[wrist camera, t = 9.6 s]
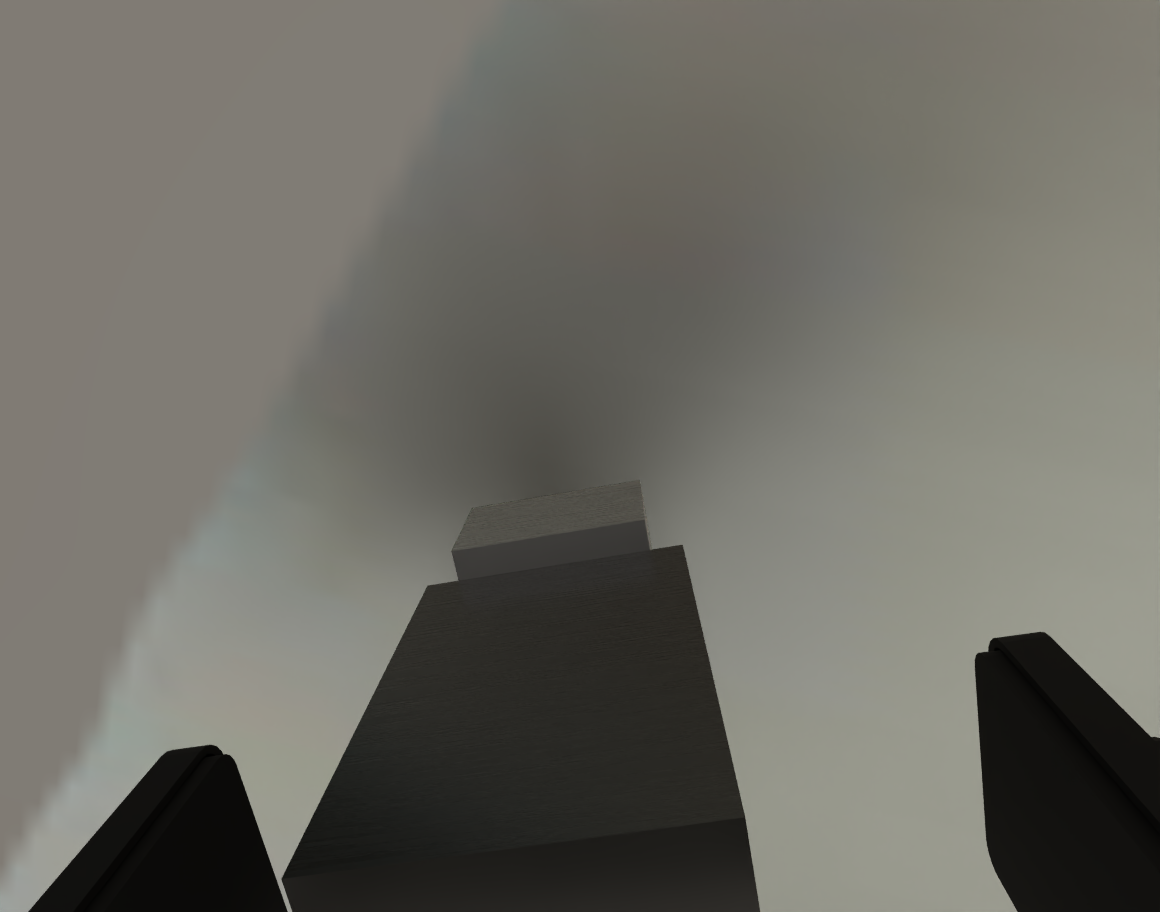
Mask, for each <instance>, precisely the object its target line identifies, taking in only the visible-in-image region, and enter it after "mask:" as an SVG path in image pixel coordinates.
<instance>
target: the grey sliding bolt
mask: <svg viewBox="0 0 1160 912" xmlns="http://www.w3.org/2000/svg"><path fill="white" fill-rule="evenodd" d="M452 555H453V559H454V563H455V567H456V572H457V576H458V580H459V581H454V582H448V583H442V584H436V585H430V586H427V588H426V590H425V592H424V594H423V596H422V598H421V600H420V602H419V604H418V606H417V608H416V610H415V612H414V614H413V616H412V618H411V620H410V622H409V624H408V626H407V628H406V630H405V632H404V634H403V636H402V638H401V640H400V642H399V644H398V646H397V648H396V650H395V652H394V654H393V656H392V658H391V660H390V662H389V664H388V666H387V668H386V670H385V672H384V674H383V676H382V678H381V680H380V682H379V684H378V686H377V688H376V690H375V692H374V694H373V696H372V698H371V700H370V702H369V704H368V706H367V708H366V710H365V712H364V714H363V716H362V718H361V720H360V722H359V724H358V726H357V728H356V730H355V732H354V734H353V736H352V738H351V740H350V742H349V744H348V746H347V748H346V750H345V752H344V754H343V756H342V758H341V760H340V763H339V765H338V767H337V769H336V771H335V773H334V775H333V777H332V779H331V781H330V783H329V785H328V787H327V789H326V791H325V793H324V795H323V797H322V799H321V801H320V803H319V805H318V807H317V809H316V811H315V813H314V815H313V817H312V819H311V821H310V823H309V825H308V827H307V829H306V831H305V833H304V835H303V837H302V839H301V841H300V843H299V845H298V847H297V849H296V851H295V853H294V855H293V857H292V859H291V861H290V863H289V865H288V867H287V869H286V871H285V873H284V875H283V877H282V882H283V885H284V888H285V891H286V894H287V897H288V900H289V903H290V906H291V909H292V912H760V908H759V902H758V896H757V889H756V883H755V877H754V870H753V864H752V858H751V851H750V845H749V839H748V832H747V826H746V820H745V815H744V810H743V806H742V802H741V797H740V793H739V789H738V784H737V780H736V775H735V771H734V767H733V762H732V758H731V754H730V749H729V745H728V741H727V736H726V732H725V728H724V723H723V719H722V714H721V710H720V706H719V701H718V697H717V693H716V688H715V684H714V680H713V675H712V671H711V667H710V662H709V658H708V653H707V649H706V645H705V640H704V636H703V632H702V627H701V623H700V619H699V614H698V610H697V606H696V601H695V597H694V592H693V588H692V584H691V579H690V575H689V571H688V566H687V562H686V558H685V553H684V549H683V545H678V546H672V547H666V548H659V549H653V550H652V547H651V541H650V535H649V529H648V524H647V518H646V512H645V507H644V501H643V495H642V490H641V484H640V480H637V481H631V482H625V483H619V484H613V485H607V486H601V487H595V488H589V489H583V490H577V491H571V492H565V493H559V494H553V495H547V496H541V497H535V498H530V499H524V500H518V501H512V502H506V503H500V504H494V505H488V506H482V507H476V508H472V509H471V512H470V514H469V516H468V518H467V520H466V522H465V524H464V526H463V528H462V530H461V532H460V535H459V537H458V539H457V541H456V543H455V545H454V547H453V549H452Z"/></svg>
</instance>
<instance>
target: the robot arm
mask: <svg viewBox="0 0 1160 912" xmlns="http://www.w3.org/2000/svg"><path fill="white" fill-rule="evenodd" d="M975 676H976V691H977V706H978V721H979V737H980V752H981V767H982V782H983V798H984V813H985V828H986V841H987V847H988V851H989V855H990V858H991V862H992V864H993V867H994V869H995V872H996V874H997V876H998V878H999V879H1000V881H1001V883H1002V885H1003V886H1004V888H1005V890H1006V892H1007V894H1008V895H1009V897H1010V899H1011V901H1012V902H1013V904H1014V906H1015V908H1016V910H1017V911H1018V912H1160V738H1157V737H1150V736H1149V735H1148V734H1147V733H1146V732H1145V731H1144V730H1143V729H1142V728H1141V727H1140V726H1139V725H1138V724H1137V723H1136V722H1135V721H1134V720H1133V719H1132V718H1131V717H1130V716H1129V715H1128V714H1127V713H1126V712H1125V711H1124V710H1123V709H1122V708H1121V707H1120V706H1119V705H1118V704H1117V703H1116V702H1115V701H1114V700H1113V699H1112V698H1111V697H1110V696H1109V695H1108V694H1107V693H1106V692H1105V691H1104V690H1103V689H1102V688H1101V687H1100V686H1099V685H1098V684H1097V683H1096V682H1095V681H1094V680H1093V679H1092V678H1091V677H1090V676H1089V675H1088V674H1087V673H1086V672H1085V671H1084V670H1083V669H1082V668H1081V667H1080V666H1079V665H1078V664H1077V663H1076V662H1075V661H1074V660H1073V659H1072V658H1071V657H1070V656H1069V655H1068V654H1067V653H1066V652H1065V651H1064V650H1063V649H1062V648H1061V647H1060V646H1059V645H1058V644H1057V643H1056V642H1055V641H1054V640H1053V639H1052V638H1051V637H1050V636H1049V635H1047V634H1046V633H1045V632H1036V633H1029V634H1021V635H1014V636H1007V637H999V638H993V639H992V640H991V641H990V644H989V650H988V652H982V653H978V654H977V655H976V658H975ZM29 912H287V909H286V906H285V903H284V900H283V897H282V894H281V891H280V889H279V886H278V883H277V880H276V877H275V874H274V871H273V868H272V866H271V863H270V860H269V857H268V854H267V851H266V848H265V845H264V843H263V840H262V837H261V834H260V831H259V828H258V825H257V822H256V820H255V817H254V814H253V811H252V808H251V805H250V802H249V799H248V797H247V794H246V791H245V788H244V785H243V782H242V779H241V776H240V773H239V771H238V768H237V765H236V763H235V761H234V759H233V758H232V757H231V756H230V755H227V754H224V755H223V753H222V751H221V750H220V749H219V748H218V747H217V746H214V745H205V746H198V747H191V748H183V749H176V750H171V751H167V752H166V753H165V754H164V755H162V756H161V757H160V758H159V760H158V761H157V762H156V763H155V764H154V765H153V767H152V768H151V769H150V770H149V771H148V772H147V774H146V775H145V776H144V777H143V778H142V779H141V781H140V782H139V783H138V784H137V785H136V786H135V788H134V789H133V790H132V791H131V792H130V793H129V795H128V796H127V797H126V798H125V799H124V800H123V802H122V803H121V804H120V805H119V806H118V808H117V809H116V810H115V811H114V812H113V813H112V815H111V816H110V817H109V818H108V819H107V820H106V822H105V823H104V824H103V825H102V826H101V827H100V829H99V830H98V831H97V832H96V833H95V834H94V836H93V837H92V838H91V839H90V840H89V841H88V843H87V844H86V845H85V846H84V847H83V848H82V850H81V851H80V852H79V853H78V854H77V855H76V857H75V858H74V859H73V860H72V861H71V862H70V864H69V865H68V866H67V867H66V868H65V869H64V871H63V872H62V873H61V874H60V875H59V876H58V878H57V879H56V880H55V881H54V882H53V883H52V885H51V886H50V887H49V888H48V889H47V891H46V892H45V893H44V894H43V895H42V896H41V898H40V899H39V900H38V901H37V902H36V903H35V905H34V906H33V907H32V908H31V909H30V910H29Z"/></svg>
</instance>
